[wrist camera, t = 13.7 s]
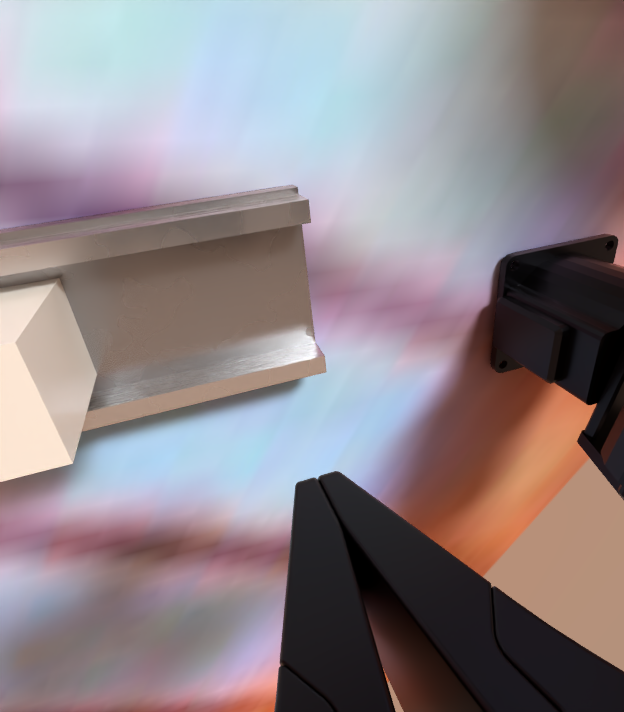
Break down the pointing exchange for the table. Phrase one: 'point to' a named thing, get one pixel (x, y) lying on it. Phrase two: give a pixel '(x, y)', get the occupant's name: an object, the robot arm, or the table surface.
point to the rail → (179, 297)
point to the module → (40, 379)
